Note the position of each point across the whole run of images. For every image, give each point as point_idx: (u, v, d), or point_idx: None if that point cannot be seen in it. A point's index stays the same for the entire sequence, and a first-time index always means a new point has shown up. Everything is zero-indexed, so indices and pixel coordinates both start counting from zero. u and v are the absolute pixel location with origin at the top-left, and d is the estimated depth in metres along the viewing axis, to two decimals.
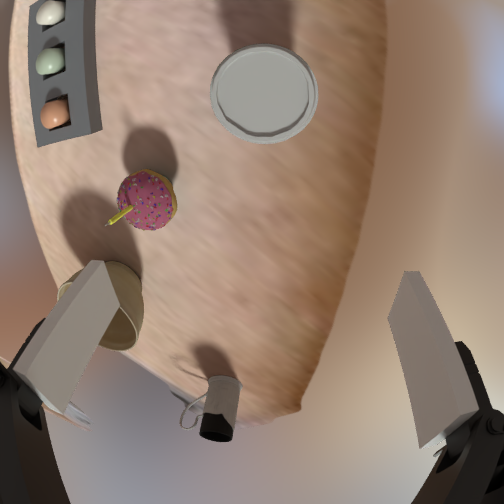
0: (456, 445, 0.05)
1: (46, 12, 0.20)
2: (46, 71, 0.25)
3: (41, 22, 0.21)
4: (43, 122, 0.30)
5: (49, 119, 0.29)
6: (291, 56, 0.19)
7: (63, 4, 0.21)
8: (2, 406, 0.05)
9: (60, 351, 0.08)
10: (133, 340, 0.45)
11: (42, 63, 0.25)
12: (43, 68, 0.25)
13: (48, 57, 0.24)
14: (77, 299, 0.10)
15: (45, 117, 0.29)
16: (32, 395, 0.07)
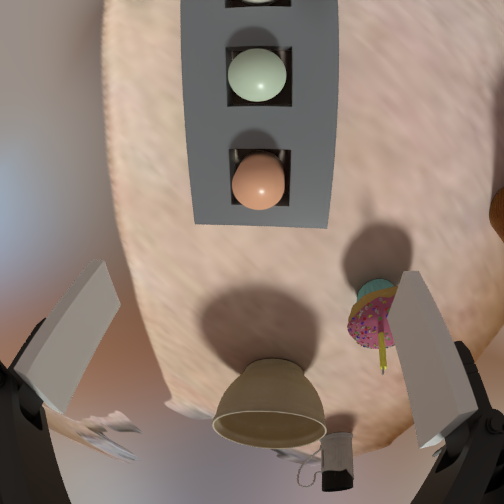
0: (455, 445, 0.05)
1: None
2: (261, 97, 0.18)
3: None
4: (239, 194, 0.22)
5: (257, 193, 0.22)
6: None
7: None
8: (3, 406, 0.05)
9: (61, 351, 0.08)
10: (302, 438, 0.38)
11: (250, 76, 0.17)
12: (253, 88, 0.18)
13: (268, 69, 0.17)
14: (77, 299, 0.10)
15: (246, 187, 0.22)
16: (33, 395, 0.07)
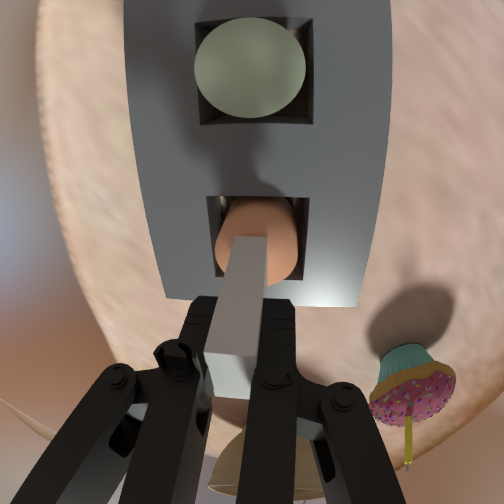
0: None
1: None
2: (259, 110, 0.10)
3: None
4: (226, 266, 0.14)
5: None
6: None
7: None
8: (175, 407, 0.06)
9: None
10: (307, 492, 0.30)
11: (236, 70, 0.09)
12: (242, 92, 0.09)
13: (272, 55, 0.08)
14: (245, 272, 0.11)
15: None
16: (210, 382, 0.08)
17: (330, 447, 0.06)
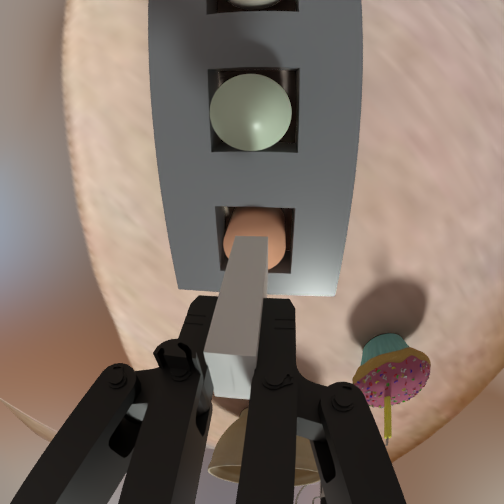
0: None
1: None
2: (257, 145, 0.14)
3: None
4: None
5: None
6: None
7: None
8: (175, 407, 0.06)
9: None
10: (300, 478, 0.34)
11: (240, 115, 0.13)
12: (244, 132, 0.13)
13: (267, 104, 0.13)
14: (245, 272, 0.11)
15: None
16: (210, 382, 0.08)
17: (330, 447, 0.06)
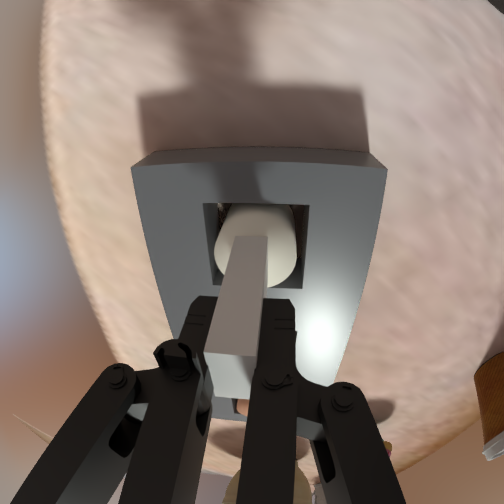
0: None
1: None
2: None
3: None
4: (242, 412, 0.24)
5: None
6: None
7: (292, 221, 0.15)
8: (175, 407, 0.06)
9: None
10: None
11: None
12: None
13: None
14: (245, 272, 0.11)
15: None
16: (210, 382, 0.08)
17: (330, 447, 0.06)
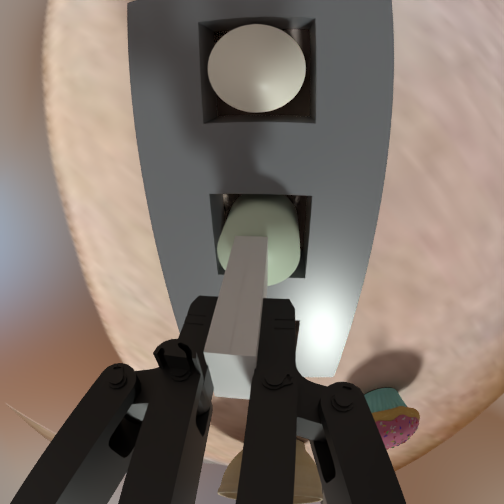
0: None
1: (264, 71, 0.10)
2: None
3: (238, 101, 0.11)
4: None
5: None
6: None
7: None
8: (175, 407, 0.06)
9: None
10: (301, 497, 0.35)
11: None
12: None
13: (275, 247, 0.14)
14: (245, 272, 0.11)
15: None
16: (210, 382, 0.08)
17: (330, 447, 0.06)
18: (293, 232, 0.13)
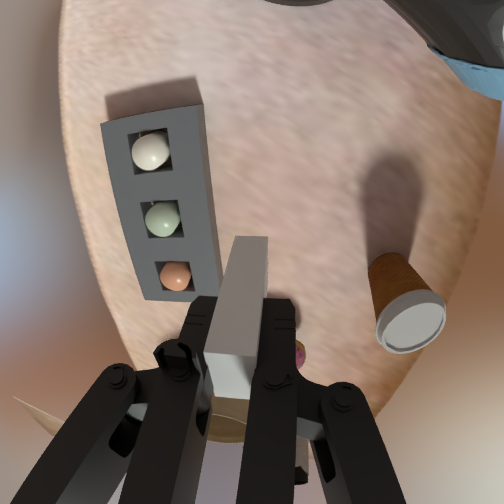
0: None
1: (150, 154, 0.29)
2: (165, 234, 0.34)
3: (143, 166, 0.30)
4: (165, 283, 0.38)
5: (174, 283, 0.38)
6: (440, 307, 0.27)
7: (168, 140, 0.30)
8: (175, 407, 0.06)
9: None
10: None
11: (157, 223, 0.33)
12: (159, 229, 0.34)
13: (165, 218, 0.33)
14: (245, 272, 0.11)
15: (168, 279, 0.38)
16: (210, 382, 0.08)
17: (330, 447, 0.06)
18: (171, 211, 0.33)
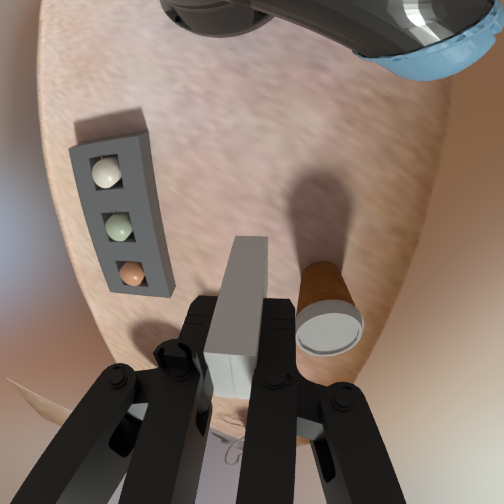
0: None
1: (105, 175, 0.34)
2: (121, 239, 0.40)
3: (101, 185, 0.35)
4: (124, 279, 0.44)
5: (131, 279, 0.44)
6: (352, 317, 0.32)
7: None
8: (175, 407, 0.06)
9: None
10: None
11: (114, 230, 0.39)
12: (116, 235, 0.39)
13: (120, 227, 0.38)
14: (245, 272, 0.11)
15: (126, 276, 0.43)
16: (210, 382, 0.08)
17: (330, 447, 0.06)
18: (124, 221, 0.38)
